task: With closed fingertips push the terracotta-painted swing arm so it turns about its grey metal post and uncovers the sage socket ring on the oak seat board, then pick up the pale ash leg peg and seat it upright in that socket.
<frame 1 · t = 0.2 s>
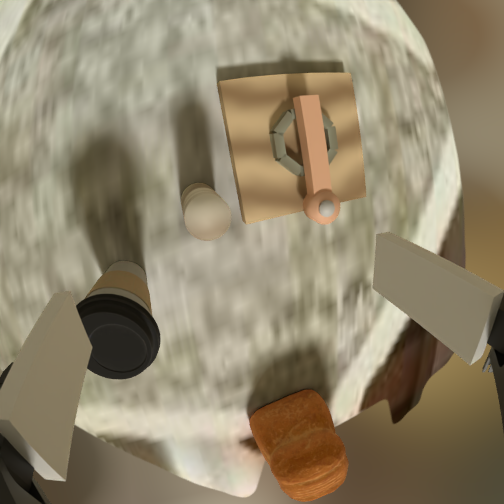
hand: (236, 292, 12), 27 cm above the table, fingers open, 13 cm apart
swing arm: (316, 159, 34), point 5 cm above the table, hinge at 90.0°
leg peg: (198, 200, 37), on the table
stool seat: (296, 141, 38), on the table
bread: (291, 427, 58), on the table
coffee cup: (126, 280, 38), on the table
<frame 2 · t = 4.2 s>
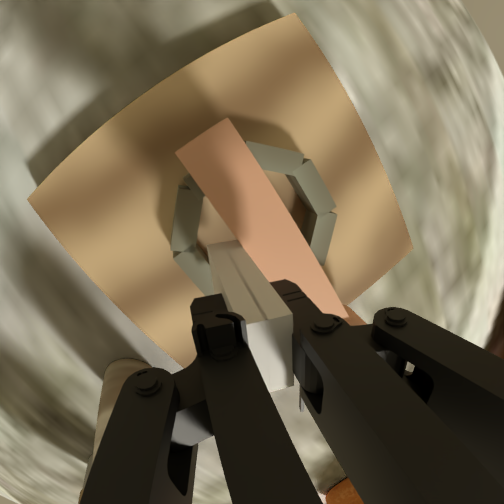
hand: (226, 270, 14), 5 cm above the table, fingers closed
swing arm: (294, 276, 14), point 5 cm above the table, hinge at 89.5°, touching gripper
leg peg: (132, 380, 20), on the table
stool seat: (243, 215, 18), on the table
bread: (375, 476, 42), on the table
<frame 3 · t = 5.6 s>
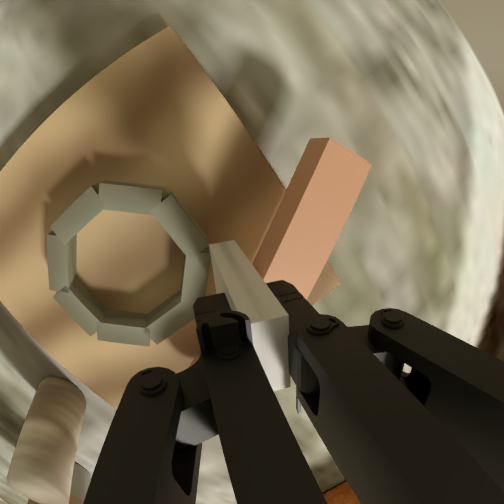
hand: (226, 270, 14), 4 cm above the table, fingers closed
swing arm: (271, 304, 14), point 5 cm above the table, hinge at 31.1°, touching gripper
leg peg: (62, 395, 19), on the table
stool seat: (133, 250, 17), on the table
bread: (347, 499, 39), on the table
coffee cup: (68, 468, 22), on the table
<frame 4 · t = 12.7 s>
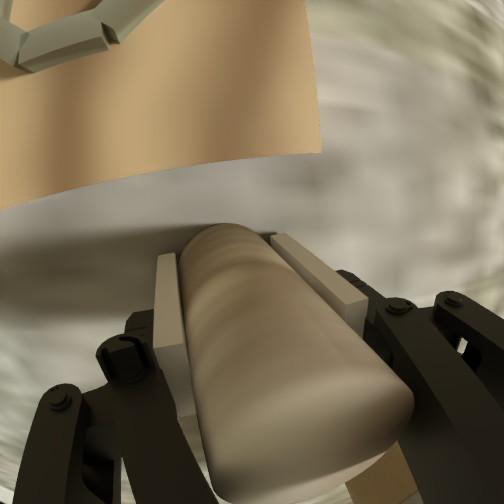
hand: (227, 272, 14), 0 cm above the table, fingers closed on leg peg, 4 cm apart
leg peg: (225, 270, 14), on the table, touching gripper
coffee cup: (351, 391, 20), on the table
when the fingers open (4 cm above the table, at t = 17.4 s): leg peg drops 2 cm, resting on stool seat.
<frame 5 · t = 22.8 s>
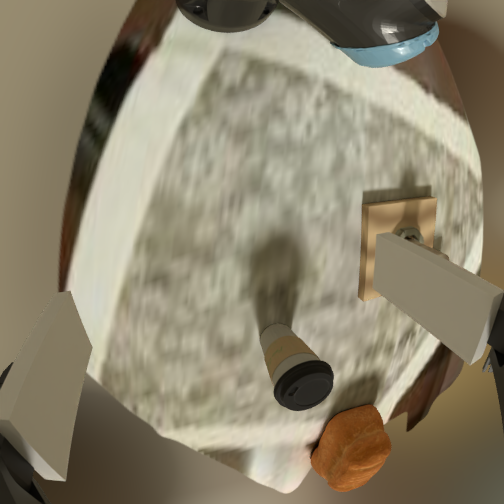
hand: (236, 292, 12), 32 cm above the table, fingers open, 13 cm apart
leg peg: (404, 248, 52), point 2 cm above the table, touching stool seat
stool seat: (397, 245, 54), on the table
bread: (339, 434, 73), on the table
coffee cup: (275, 336, 53), on the table
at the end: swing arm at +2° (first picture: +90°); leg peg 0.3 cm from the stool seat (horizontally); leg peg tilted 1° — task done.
